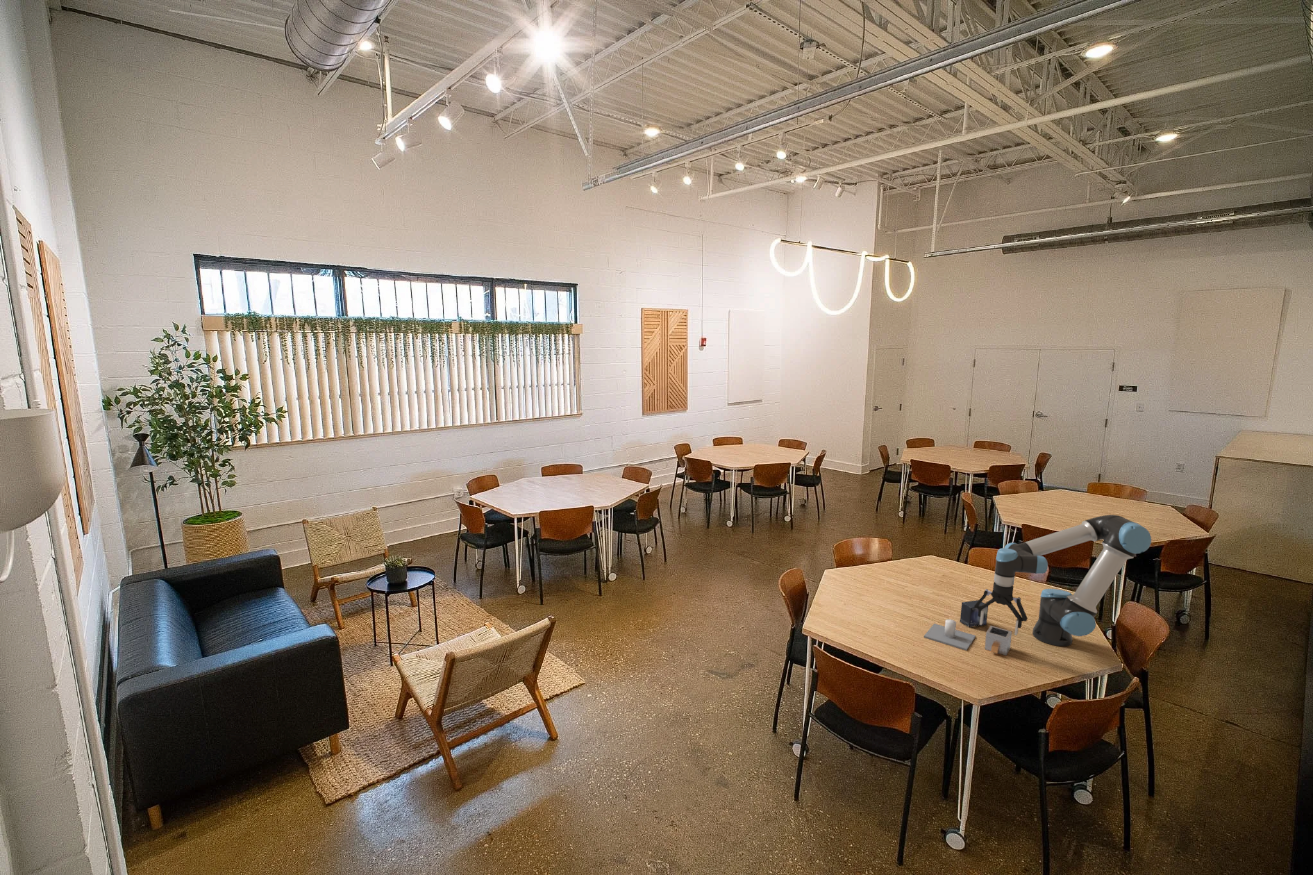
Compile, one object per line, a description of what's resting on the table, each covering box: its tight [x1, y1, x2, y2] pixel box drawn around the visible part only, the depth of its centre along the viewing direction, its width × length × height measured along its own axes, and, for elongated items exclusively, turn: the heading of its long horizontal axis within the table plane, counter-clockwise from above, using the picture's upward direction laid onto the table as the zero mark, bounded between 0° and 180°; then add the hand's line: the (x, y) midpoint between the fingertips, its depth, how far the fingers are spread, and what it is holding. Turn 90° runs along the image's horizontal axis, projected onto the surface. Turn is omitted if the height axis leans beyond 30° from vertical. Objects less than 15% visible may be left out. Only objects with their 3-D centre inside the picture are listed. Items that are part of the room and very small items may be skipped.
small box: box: [959, 599, 989, 628], centre depth 279 cm, size 11×6×10 cm, turn 105°
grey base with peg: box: [923, 618, 976, 651], centre depth 266 cm, size 18×16×8 cm
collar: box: [984, 625, 1013, 656], centre depth 254 cm, size 8×11×8 cm
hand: (998, 628), depth 255 cm, fingers open, 13 cm apart
